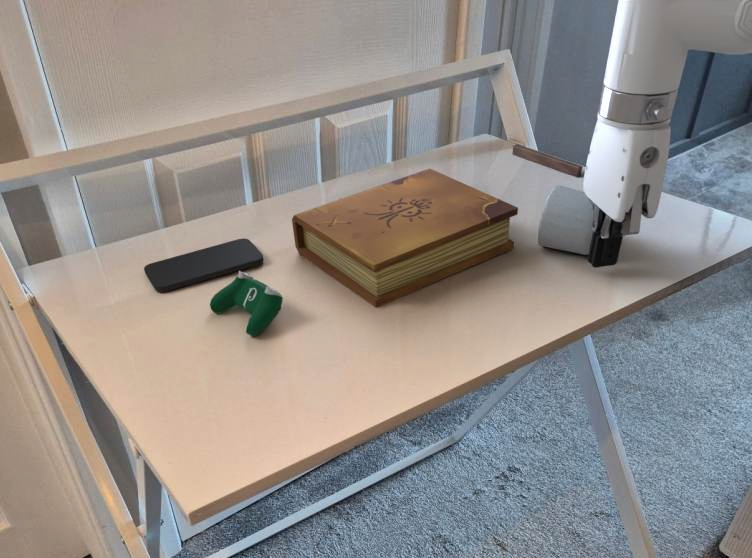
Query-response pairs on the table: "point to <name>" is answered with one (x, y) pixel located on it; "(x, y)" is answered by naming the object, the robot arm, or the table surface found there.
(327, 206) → the diary
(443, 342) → the table surface
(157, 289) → the phone
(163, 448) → the table surface
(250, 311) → the gaming controller
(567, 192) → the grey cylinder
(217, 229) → the table surface
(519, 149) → the back rail
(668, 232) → the table surface
